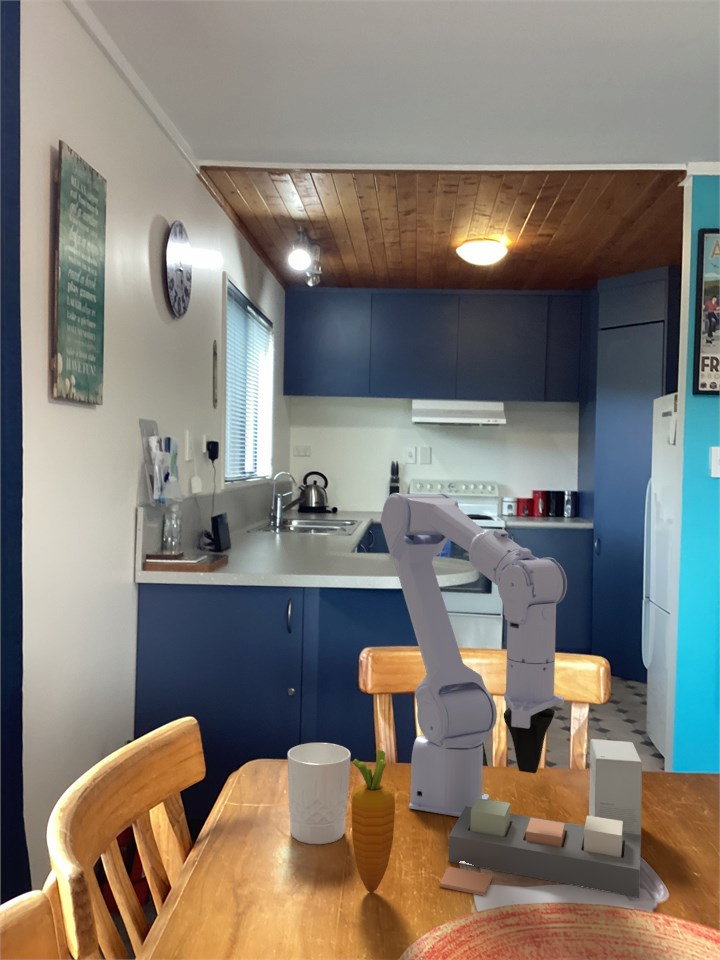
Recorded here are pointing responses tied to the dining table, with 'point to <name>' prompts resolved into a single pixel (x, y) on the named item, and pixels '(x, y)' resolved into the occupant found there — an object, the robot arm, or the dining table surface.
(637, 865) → the keypad
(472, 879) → the tile
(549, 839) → the key terracotta
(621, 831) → the key cream
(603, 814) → the small box
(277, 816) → the dining table surface
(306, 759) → the white cup
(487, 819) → the key sage
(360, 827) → the carrot
